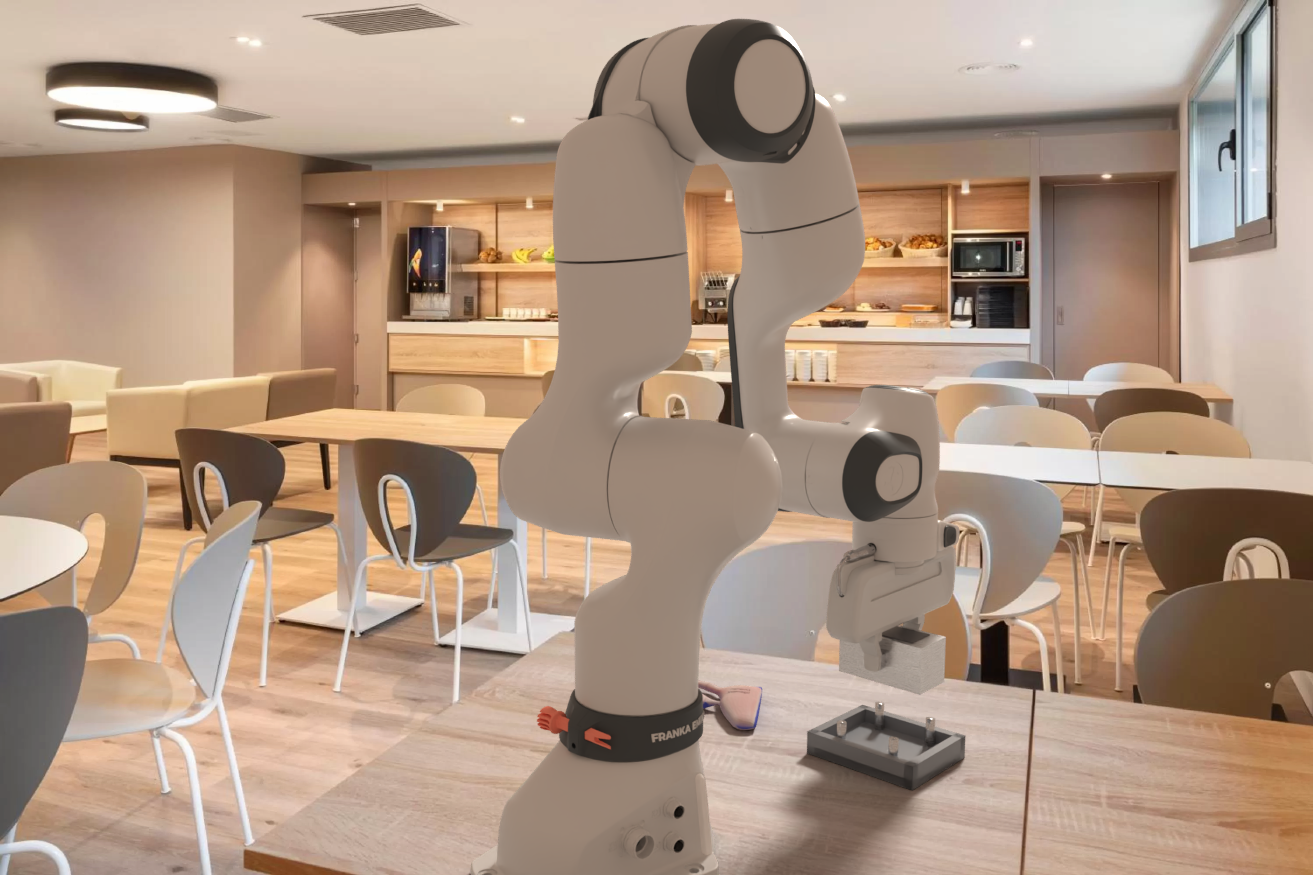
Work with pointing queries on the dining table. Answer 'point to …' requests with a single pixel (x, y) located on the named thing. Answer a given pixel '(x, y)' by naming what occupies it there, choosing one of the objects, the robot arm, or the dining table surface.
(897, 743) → the pin tray
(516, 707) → the dining table surface
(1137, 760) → the dining table surface
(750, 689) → the anatomical model
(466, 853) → the dining table surface
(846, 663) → the block
